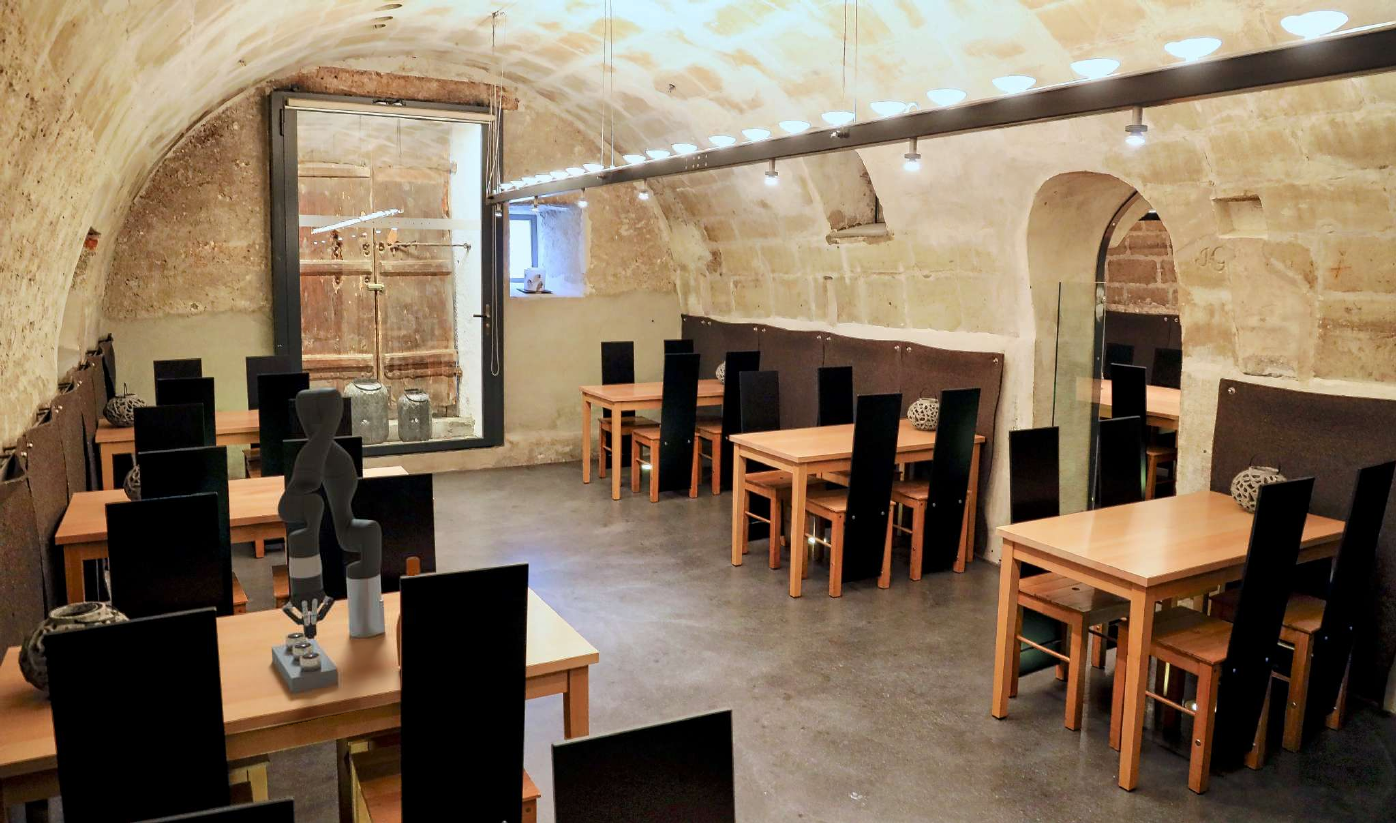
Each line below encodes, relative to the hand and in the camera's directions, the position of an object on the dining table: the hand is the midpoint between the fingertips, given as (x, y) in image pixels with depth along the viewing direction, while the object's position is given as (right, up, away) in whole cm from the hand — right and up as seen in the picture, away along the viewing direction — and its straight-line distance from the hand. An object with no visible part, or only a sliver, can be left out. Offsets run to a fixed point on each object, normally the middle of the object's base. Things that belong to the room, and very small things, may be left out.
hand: (310, 638), depth 259 cm
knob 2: (-5, -7, +8) cm, 11 cm away
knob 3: (0, -8, +1) cm, 8 cm away
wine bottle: (+24, -11, +11) cm, 28 cm away
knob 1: (-9, -6, +15) cm, 19 cm away
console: (-5, -11, +9) cm, 15 cm away
